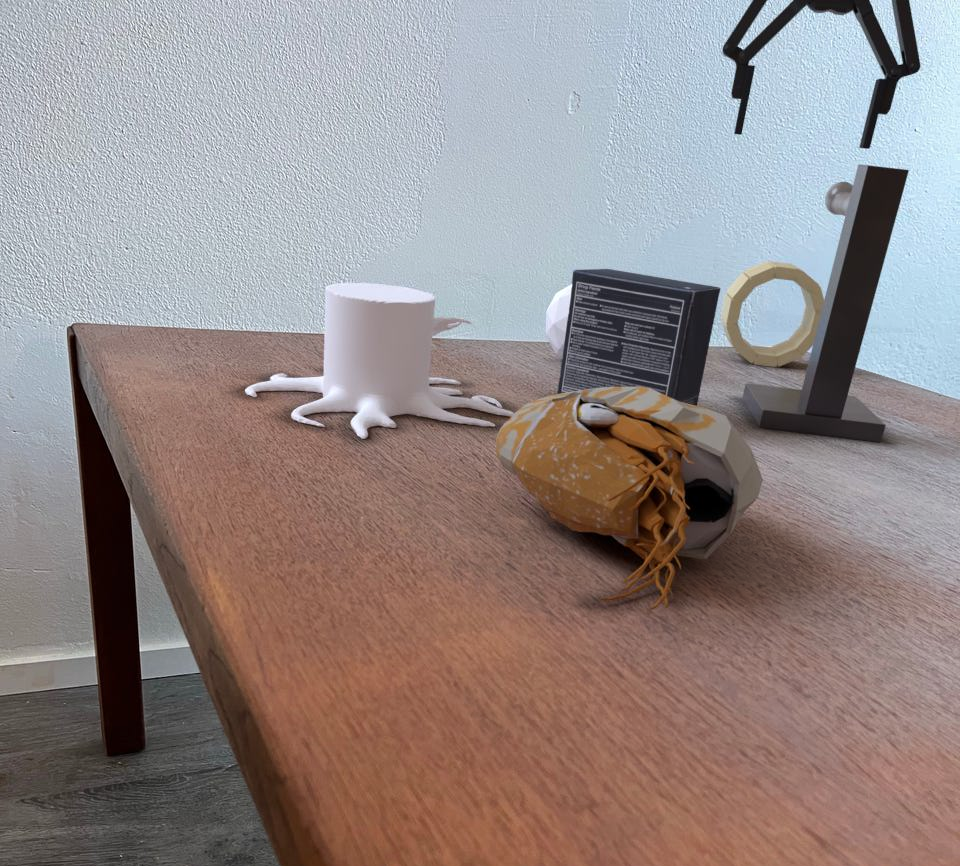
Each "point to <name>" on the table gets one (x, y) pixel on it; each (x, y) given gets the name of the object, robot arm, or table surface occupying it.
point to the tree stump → (380, 360)
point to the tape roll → (800, 338)
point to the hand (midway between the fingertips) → (800, 141)
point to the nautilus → (634, 471)
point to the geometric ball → (558, 319)
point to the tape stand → (840, 317)
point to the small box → (637, 333)
